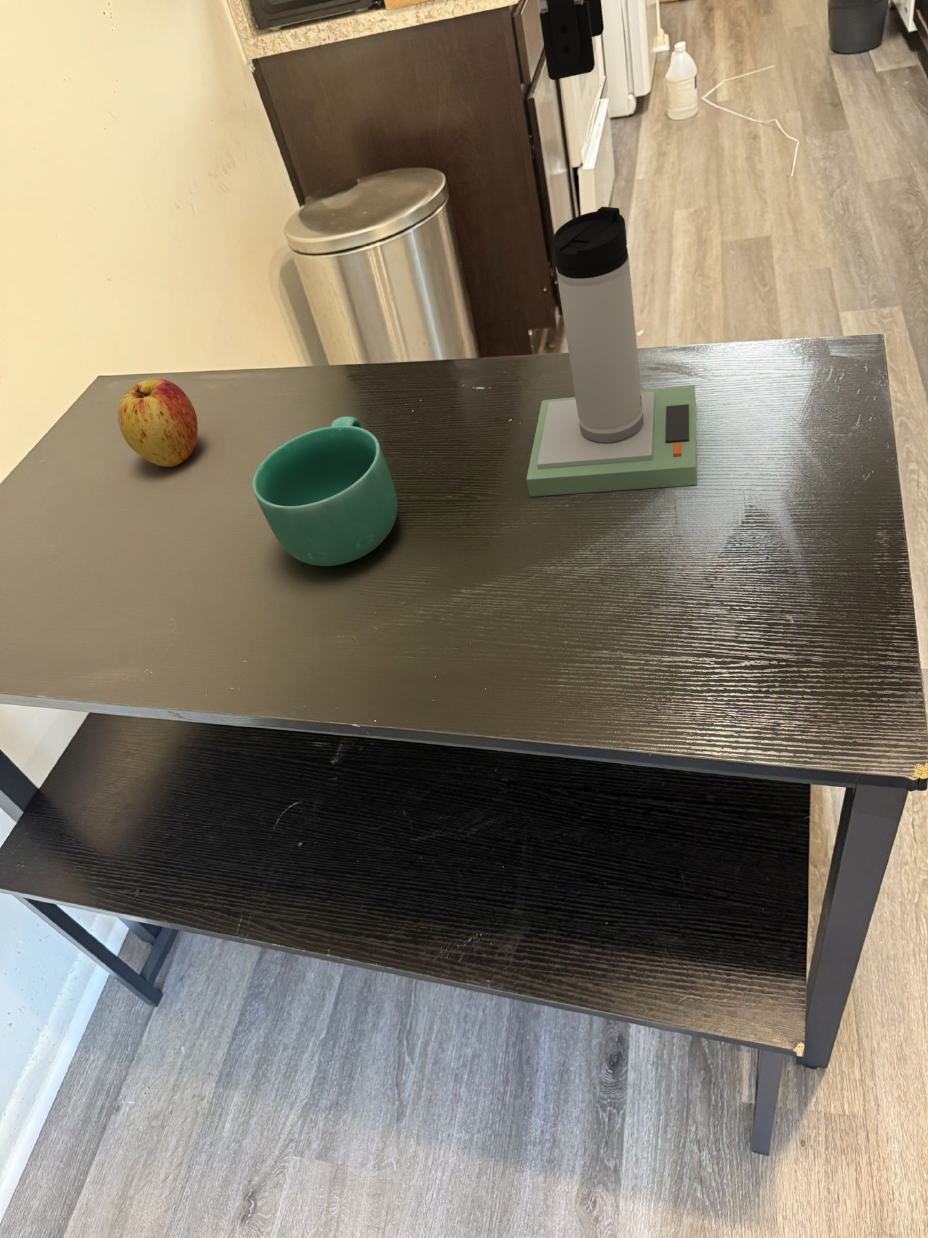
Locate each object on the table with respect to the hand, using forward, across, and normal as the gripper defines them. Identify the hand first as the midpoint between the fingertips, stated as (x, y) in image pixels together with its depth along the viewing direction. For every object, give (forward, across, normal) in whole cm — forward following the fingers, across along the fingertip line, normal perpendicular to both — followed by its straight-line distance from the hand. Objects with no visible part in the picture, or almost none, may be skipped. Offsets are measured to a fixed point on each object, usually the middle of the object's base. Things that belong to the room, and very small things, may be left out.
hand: (578, 55), depth 63 cm
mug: (+35, -9, +27) cm, 45 cm away
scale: (+35, +1, +1) cm, 35 cm away
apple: (+35, +7, +55) cm, 66 cm away
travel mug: (+32, +1, +1) cm, 33 cm away
